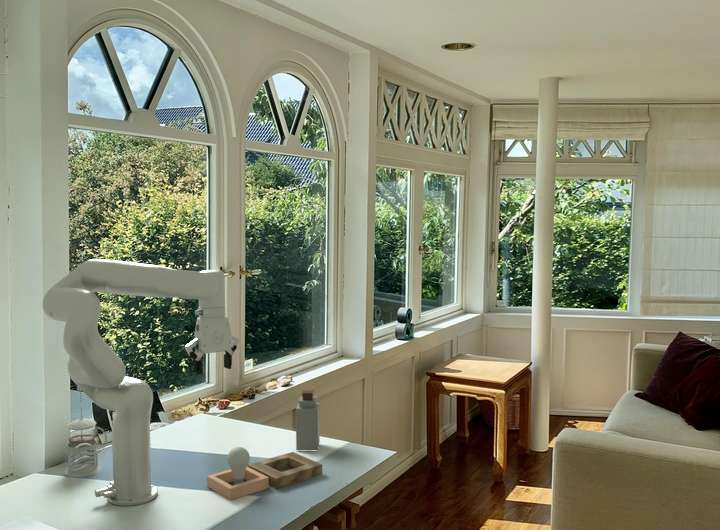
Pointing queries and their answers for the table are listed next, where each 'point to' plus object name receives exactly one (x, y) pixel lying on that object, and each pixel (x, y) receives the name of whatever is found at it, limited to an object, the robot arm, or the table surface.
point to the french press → (83, 449)
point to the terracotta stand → (252, 484)
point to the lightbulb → (238, 463)
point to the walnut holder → (299, 472)
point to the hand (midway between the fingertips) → (213, 370)
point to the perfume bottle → (307, 422)
